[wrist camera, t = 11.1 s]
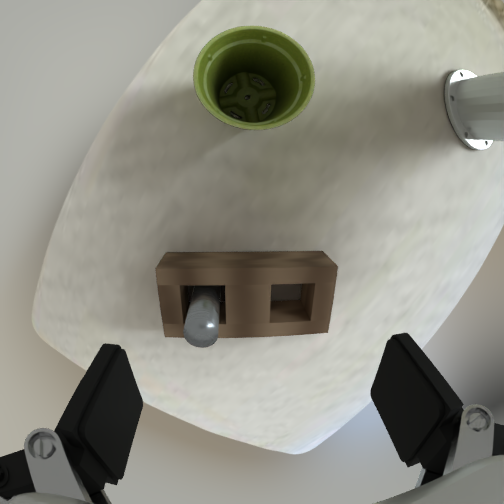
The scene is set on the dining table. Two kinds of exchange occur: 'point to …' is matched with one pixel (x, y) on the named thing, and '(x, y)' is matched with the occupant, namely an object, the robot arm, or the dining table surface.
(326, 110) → the dining table surface
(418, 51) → the dining table surface
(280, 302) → the socket block
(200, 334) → the pin
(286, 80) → the plant pot
